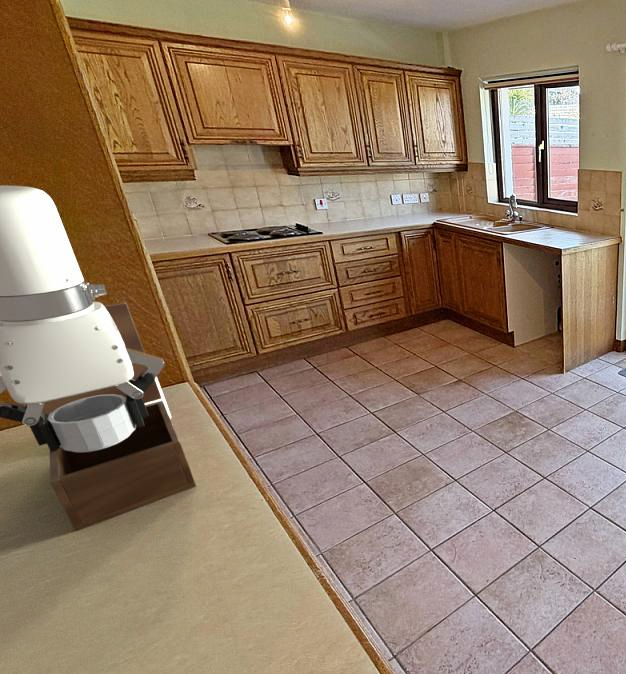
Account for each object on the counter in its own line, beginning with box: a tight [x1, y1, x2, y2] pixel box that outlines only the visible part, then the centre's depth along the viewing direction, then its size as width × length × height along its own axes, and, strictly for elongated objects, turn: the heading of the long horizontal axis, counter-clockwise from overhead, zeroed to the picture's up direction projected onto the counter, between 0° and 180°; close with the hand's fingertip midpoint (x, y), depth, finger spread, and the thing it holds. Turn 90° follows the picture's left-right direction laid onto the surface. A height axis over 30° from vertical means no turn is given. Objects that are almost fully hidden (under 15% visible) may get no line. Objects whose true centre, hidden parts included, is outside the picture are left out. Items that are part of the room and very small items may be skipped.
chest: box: [48, 401, 197, 532], centre depth 75 cm, size 17×14×9 cm
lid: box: [42, 302, 162, 416], centre depth 77 cm, size 18×14×5 cm
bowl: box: [47, 394, 136, 452], centre depth 59 cm, size 7×7×4 cm
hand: (99, 432), depth 60 cm, fingers closed on bowl, 7 cm apart
